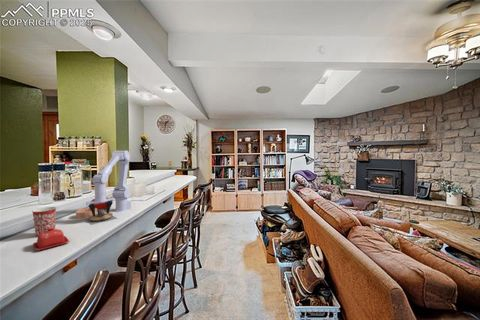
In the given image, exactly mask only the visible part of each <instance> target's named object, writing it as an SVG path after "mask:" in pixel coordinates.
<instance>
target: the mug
mask: <svg viewBox="0 0 480 320" xmlns="http://www.w3.org/2000/svg"><path fill="white" fill-rule="evenodd" d="M56 209H57V207H56V206H43V207H38V208H34V209H33V210H32V217H33V223H34V224H33V225H34V226H33V227H34V231H35V232H34V233H35V237H37V238H38V235H39V234H40V233H42V232H45V231H48V228H49V227H55V228H54V229H56V217H57V216H56V214H57V213H56V211H57V210H56Z"/></svg>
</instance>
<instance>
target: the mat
mask: <svg viewBox="0 0 480 320" xmlns="http://www.w3.org/2000/svg"><path fill="white" fill-rule="evenodd" d="M117 219H118V218H117V217H116V216H114V215H113V216H112V217H111V218H108V219H106V220H103V221H90V220H89V218H85V219H83V220H84V221H86V222H87V223H88V224H90V225H91V226H92V225H96V224H100V223H105V222H109V221H112V220H117Z"/></svg>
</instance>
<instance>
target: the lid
mask: <svg viewBox="0 0 480 320" xmlns="http://www.w3.org/2000/svg"><path fill="white" fill-rule="evenodd" d="M112 216H114V215H113V212H109V213H107V212H105V209H99V210H97V214H95V216H93V215H92V216H90V217H89V218H88V219H89V220H90V221H103V220H106V219H108V218H111V217H112Z"/></svg>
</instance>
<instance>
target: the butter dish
mask: <svg viewBox="0 0 480 320" xmlns="http://www.w3.org/2000/svg"><path fill="white" fill-rule="evenodd" d="M54 228H55V229H54ZM64 234H65V233H64V232H63V231H62V230H61V229H58V228H57V229H56V226H55V227H49V228H48V231H45V232H42V233H40V234H39V235H38V237H37V240H36V242H33V243H32V245H33V248H34V249H35V250H36V251H40V250H41V251H42V250H47V249H50V248H54V247H58V246H61V245H64V244H67V243H69V242H70V240H69V238H68V237H67V236H66V235H64Z"/></svg>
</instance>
